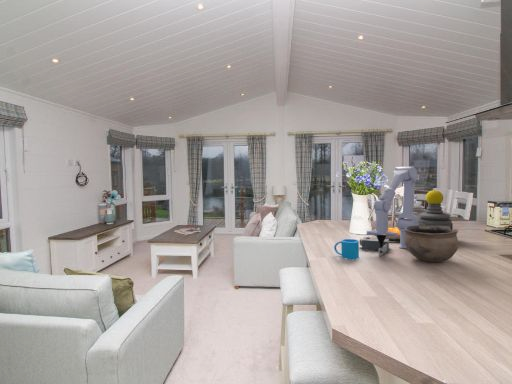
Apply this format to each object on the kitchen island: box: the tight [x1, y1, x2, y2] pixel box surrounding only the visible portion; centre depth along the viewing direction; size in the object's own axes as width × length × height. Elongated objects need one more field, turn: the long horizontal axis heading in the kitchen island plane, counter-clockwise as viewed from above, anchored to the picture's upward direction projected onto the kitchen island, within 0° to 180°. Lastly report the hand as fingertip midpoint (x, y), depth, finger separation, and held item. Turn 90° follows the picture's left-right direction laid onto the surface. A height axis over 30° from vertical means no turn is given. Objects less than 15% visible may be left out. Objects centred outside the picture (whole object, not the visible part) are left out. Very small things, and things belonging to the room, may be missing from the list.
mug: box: [333, 238, 360, 260], centre depth 156 cm, size 12×8×8 cm
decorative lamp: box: [418, 189, 454, 231], centre depth 186 cm, size 19×19×30 cm
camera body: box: [359, 236, 390, 252], centre depth 171 cm, size 15×8×6 cm, turn 63°
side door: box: [378, 244, 389, 257], centre depth 159 cm, size 13×2×4 cm, turn 141°
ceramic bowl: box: [404, 225, 459, 263], centre depth 146 cm, size 22×22×15 cm
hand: (381, 249), depth 161 cm, fingers closed, pressing on side door
